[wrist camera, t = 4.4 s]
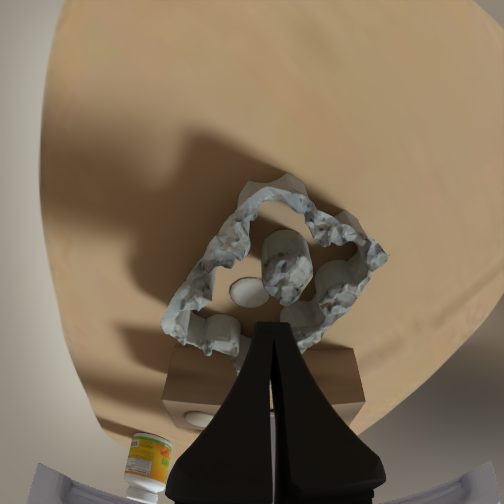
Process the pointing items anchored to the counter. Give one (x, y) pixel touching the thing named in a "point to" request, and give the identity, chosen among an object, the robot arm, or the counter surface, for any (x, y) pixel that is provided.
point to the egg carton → (274, 274)
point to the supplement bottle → (147, 467)
